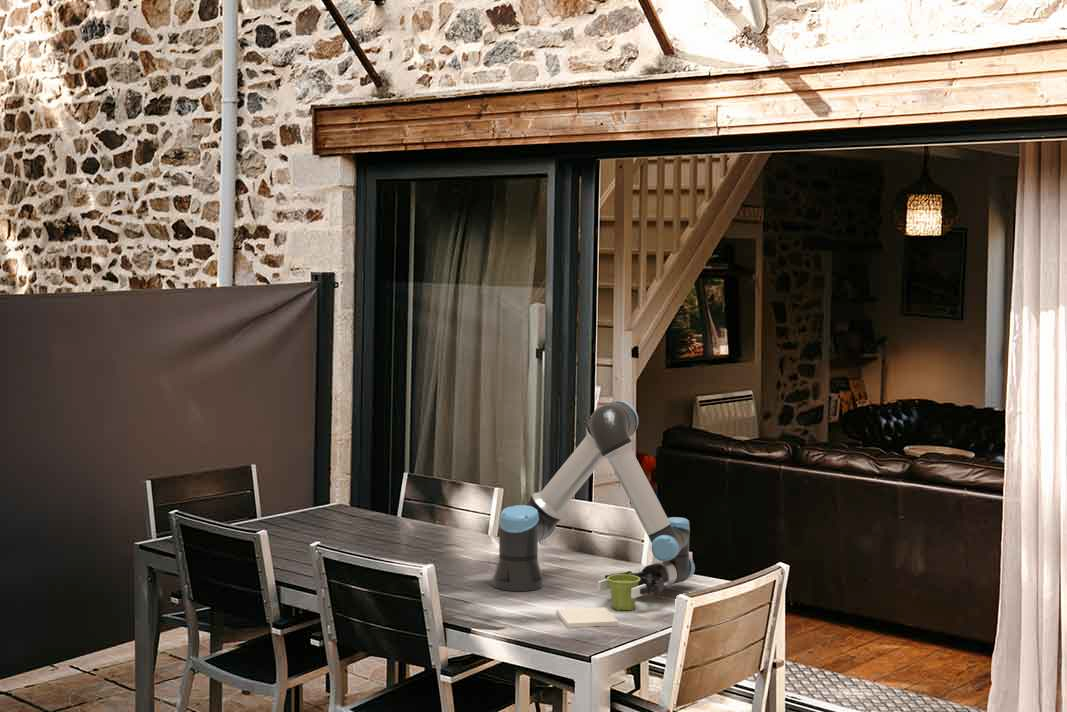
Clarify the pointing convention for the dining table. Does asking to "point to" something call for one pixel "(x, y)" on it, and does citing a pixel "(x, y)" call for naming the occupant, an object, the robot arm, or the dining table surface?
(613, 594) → the plant pot
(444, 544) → the dining table surface
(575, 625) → the tile
